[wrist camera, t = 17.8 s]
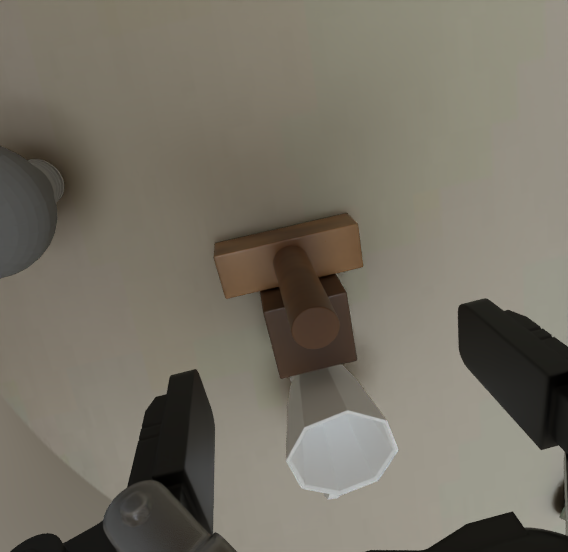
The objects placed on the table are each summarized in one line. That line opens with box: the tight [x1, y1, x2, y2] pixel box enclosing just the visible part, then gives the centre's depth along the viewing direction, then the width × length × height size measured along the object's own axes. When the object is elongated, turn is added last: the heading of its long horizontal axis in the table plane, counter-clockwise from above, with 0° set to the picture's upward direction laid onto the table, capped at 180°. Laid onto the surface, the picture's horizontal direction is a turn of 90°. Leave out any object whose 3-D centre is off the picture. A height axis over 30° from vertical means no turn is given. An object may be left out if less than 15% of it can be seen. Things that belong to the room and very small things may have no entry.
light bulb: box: [0, 146, 64, 278], centre depth 20 cm, size 6×6×10 cm
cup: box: [286, 364, 399, 499], centre depth 29 cm, size 7×10×8 cm
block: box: [260, 274, 357, 379], centre depth 27 cm, size 5×5×5 cm
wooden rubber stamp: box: [214, 213, 363, 349], centre depth 23 cm, size 9×3×10 cm, turn 101°
